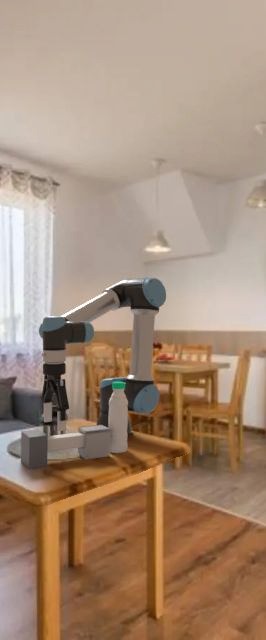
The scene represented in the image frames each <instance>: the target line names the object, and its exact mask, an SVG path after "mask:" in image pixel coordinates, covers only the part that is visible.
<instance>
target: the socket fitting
mask: <svg viewBox="0 0 266 640" xmlns="http://www.w3.org/2000/svg"><path fill="white" fill-rule="evenodd" d="M20 432H21V435H20V436H21V437H20V439H21V440H20V462H22V464H23V465H24V466H25V467H26V468H27V469H29V470H32V469H37V468H44V467H48V452H47V449H48V436H49V435H48V434H47V433H45V432H44V431H42V430H40V429H29V430H22V431H20Z"/></svg>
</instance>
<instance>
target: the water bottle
mask: <svg viewBox="0 0 266 640" xmlns="http://www.w3.org/2000/svg"><path fill="white" fill-rule="evenodd" d="M112 388H113V393H112V395H111V398H110V400H109V416H108V426H109V429H110V454H111V453H112V454H123V453H126V452H127V451H128V434H127V426H128V417H129V411H128V407H127V406H128V400H127V398H126V395H125V393H124V390H125V383H124V382H113V383H112Z"/></svg>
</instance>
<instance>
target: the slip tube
mask: <svg viewBox="0 0 266 640" xmlns="http://www.w3.org/2000/svg"><path fill="white" fill-rule="evenodd" d="M79 447H85V434H84V433H83V432H79V433H78V432H73V433H63V434H56V435H55V434H54V435H48V449H47V453H48V452H55V451H61V450H62V451H63V450H71V449H78V448H79Z"/></svg>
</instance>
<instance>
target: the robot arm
mask: <svg viewBox="0 0 266 640" xmlns="http://www.w3.org/2000/svg"><path fill="white" fill-rule="evenodd" d="M101 293H102V294H99V295H97V296H96V297H94V298H92V299H91V300H89V301H87V302H85V303H83V304H81V305H79V306H78V307H76V308H74V309H72V310H70V311H69V312H67V313H65V314H63V315H61V316H59V315H58V316H45V317H44V318H43V319H42V322H41V324H40V325H39V328H38V333H39V336H40V338H41V339H42V353H41V356H42V361H43V362H44V363H43V364H42V374H43V375H44V376H43V383H42V384H43V386H42V391H41V398H40V399H41V400H42V402H43V422H44V423H49V422H53V403H52V402H54V400H53V399H52V398H53V395H54V397H55V401H56V404H57V409H56V413H57V415H56V416H57V419H56V420H57V431H58V432H62V431H66V430H67V410H70V404H69V398H68V397H69V396H68V391H67V386H66V378H63V379H62V376H63V375H66V373H67V371H66V369H67V366H66V365H67V364H66V363H65V362H66V361H67V350H66V349H67V347H66V346H67V344H69V345H71V344H86V343H90V342H91V341H92V340H93V339H94V336H95V328H94V326H93V324H92V322H93V321H95V320H97V319H98V318H100V317H102V316H104V315H105V314H107V313H109V312H110V311H113V312H115V311H117V310H119V309H122V308H130V312H131V313H132V314H133V319H132V321H133V322H132V323H133V324H132V335H131V352H130V362H129V363H130V364H129V374H128V375H127V376H122V377H120V376H119V377H109V378H103V379H102V380H101V381H100V385H99V387H100V388H99V416H98V418H97V421H96V424H95V425H103V426H105V427H107V428H109V426H108V416H109V400H110V398H111V395H112V393H113V388H112V383H113V382H124V383H125V390H124V393H125V395H126V398H127V400H128V406H127V407H128V412H133V413H136V414H142V415H145V414H149V413H151V412H153V411H154V410H155V408H156V407H157V405H158V403H159V400H160V390H159V388H158V387H157V386H156V385H155V379H154V377H153V376H152V364H153V363H152V362H153V349H154V335H155V334H154V333H155V321H156V315H158V314H159V313H160V307H162V306H163V305H164V304H165V302H166V299H167V290H166V288H165V285H164V284H163V282H162V281H161V280H160V279H158V278H156V277H142V278H139V277H138V278H127V279H124V280H121V281H119V282H117V283H116V284H113V285H110V286H109V287H107V288H105V289H104V290H103V291H102V292H101ZM127 434H128V435H131V434H132V425H131V422H130V418H129V416H128V426H127Z"/></svg>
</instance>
